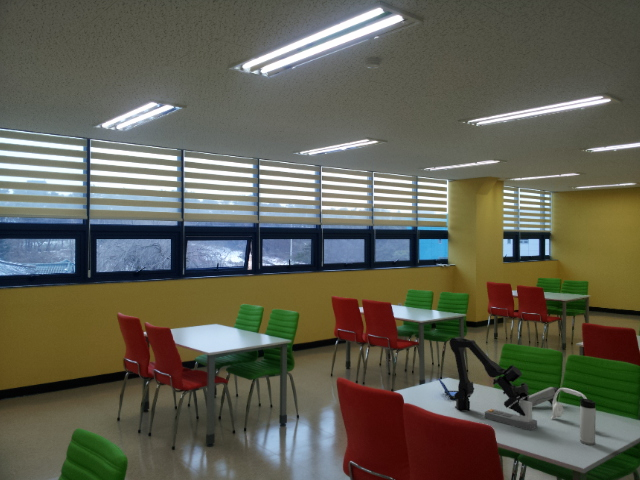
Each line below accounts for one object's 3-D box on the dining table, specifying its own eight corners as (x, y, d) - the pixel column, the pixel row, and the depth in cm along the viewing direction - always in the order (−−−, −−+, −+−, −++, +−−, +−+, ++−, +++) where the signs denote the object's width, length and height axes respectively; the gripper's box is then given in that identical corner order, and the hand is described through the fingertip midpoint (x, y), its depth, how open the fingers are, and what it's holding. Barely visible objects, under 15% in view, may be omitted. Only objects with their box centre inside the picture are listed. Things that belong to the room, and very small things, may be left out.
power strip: (484, 417, 259) (484, 410, 259) (491, 414, 265) (491, 407, 265) (530, 430, 242) (530, 423, 242) (536, 426, 248) (536, 419, 248)
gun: (562, 402, 284) (559, 385, 283) (528, 416, 275) (525, 399, 275) (558, 401, 286) (555, 384, 286) (525, 415, 278) (522, 398, 277)
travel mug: (576, 440, 231) (576, 397, 231) (589, 439, 231) (590, 397, 232) (584, 445, 224) (584, 401, 225) (598, 445, 225) (598, 401, 225)
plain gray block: (519, 425, 248) (519, 402, 248) (523, 423, 251) (523, 400, 251) (528, 428, 245) (528, 404, 245) (532, 425, 248) (532, 402, 248)
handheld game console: (466, 400, 289) (466, 384, 289) (443, 400, 289) (444, 384, 289) (459, 392, 305) (459, 377, 305) (437, 392, 305) (437, 377, 305)
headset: (594, 429, 244) (594, 393, 245) (585, 432, 241) (585, 395, 241) (557, 417, 262) (558, 383, 262) (549, 419, 258) (549, 385, 259)
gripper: (510, 381, 244) (532, 409, 236) (525, 375, 258) (547, 401, 250) (494, 393, 250) (516, 421, 242) (510, 386, 263) (531, 412, 255)
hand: (528, 413), depth 247 cm, fingers open, 8 cm apart
